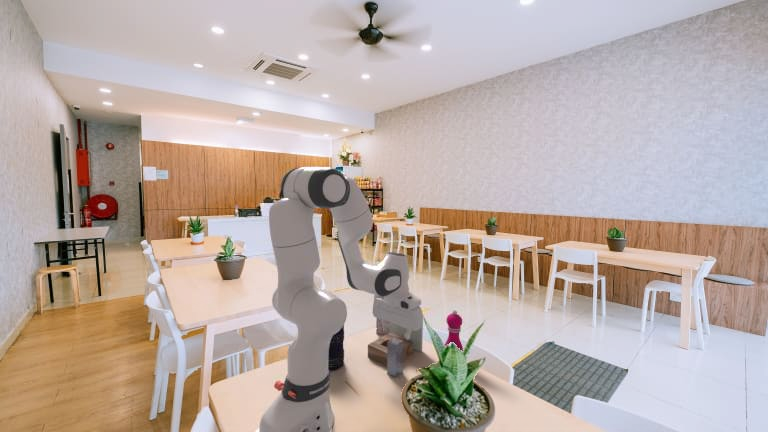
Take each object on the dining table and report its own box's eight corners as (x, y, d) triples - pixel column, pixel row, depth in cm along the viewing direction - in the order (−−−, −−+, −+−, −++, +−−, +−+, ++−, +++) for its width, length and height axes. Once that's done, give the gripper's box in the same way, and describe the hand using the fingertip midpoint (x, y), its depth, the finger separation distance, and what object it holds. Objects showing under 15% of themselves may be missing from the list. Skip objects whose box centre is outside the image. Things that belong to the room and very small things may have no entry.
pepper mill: (464, 365, 118) (466, 314, 117) (445, 365, 118) (447, 313, 117) (460, 355, 125) (461, 307, 124) (442, 355, 126) (443, 306, 124)
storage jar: (313, 369, 114) (313, 330, 113) (323, 356, 124) (323, 319, 122) (339, 373, 112) (339, 332, 111) (347, 358, 122) (347, 321, 121)
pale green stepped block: (414, 356, 124) (414, 319, 123) (383, 344, 134) (383, 309, 133) (422, 351, 129) (423, 314, 127) (391, 339, 139) (392, 305, 138)
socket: (391, 367, 116) (391, 354, 116) (367, 356, 124) (367, 344, 123) (412, 353, 127) (413, 341, 126) (389, 343, 134) (389, 332, 134)
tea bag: (376, 330, 147) (377, 309, 147) (391, 331, 147) (391, 310, 146) (376, 334, 144) (376, 312, 143) (390, 334, 143) (391, 313, 143)
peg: (395, 377, 110) (396, 345, 109) (387, 373, 112) (387, 341, 111) (402, 372, 113) (403, 340, 112) (393, 368, 115) (394, 337, 114)
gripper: (368, 293, 115) (369, 329, 116) (415, 306, 102) (414, 347, 103) (379, 289, 120) (379, 323, 121) (425, 301, 107) (425, 339, 108)
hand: (396, 334), depth 112 cm, fingers open, 8 cm apart
